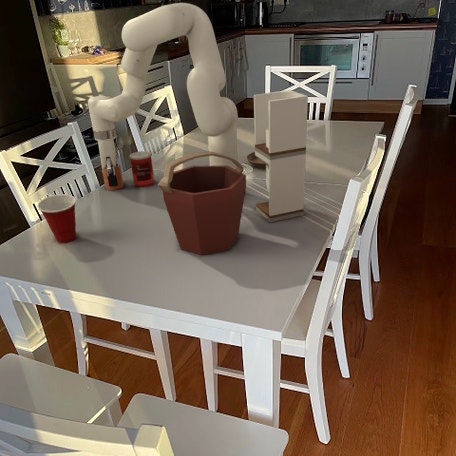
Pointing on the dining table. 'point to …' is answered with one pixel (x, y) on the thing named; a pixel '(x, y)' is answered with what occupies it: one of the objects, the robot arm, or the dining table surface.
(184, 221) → the bucket
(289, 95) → the tall white stacked tower
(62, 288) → the dining table surface
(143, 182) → the canned food
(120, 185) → the pot
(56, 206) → the plastic cup
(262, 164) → the plant saucer
